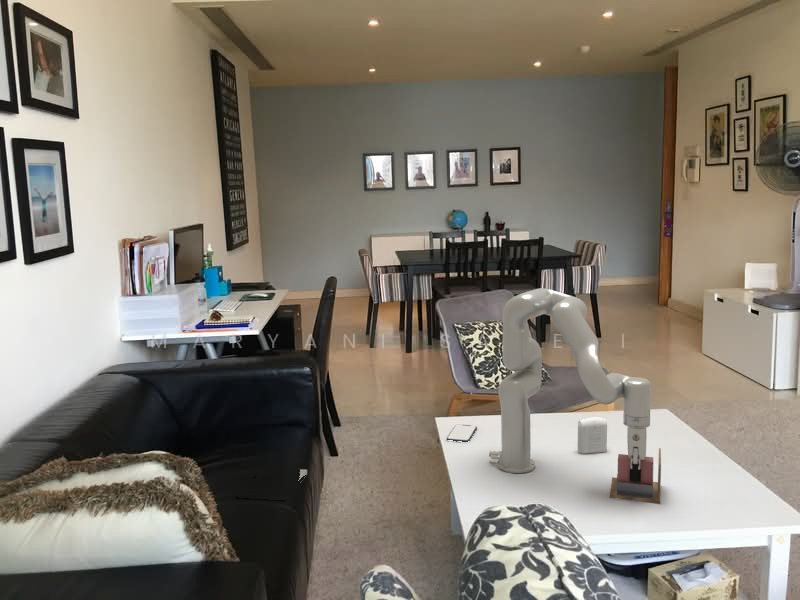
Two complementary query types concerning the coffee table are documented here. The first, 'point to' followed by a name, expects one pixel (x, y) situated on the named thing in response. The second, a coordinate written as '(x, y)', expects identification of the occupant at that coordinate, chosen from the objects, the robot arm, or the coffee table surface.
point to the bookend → (635, 490)
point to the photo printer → (592, 435)
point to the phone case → (462, 433)
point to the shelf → (655, 497)
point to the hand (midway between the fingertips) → (635, 476)
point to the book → (645, 467)
